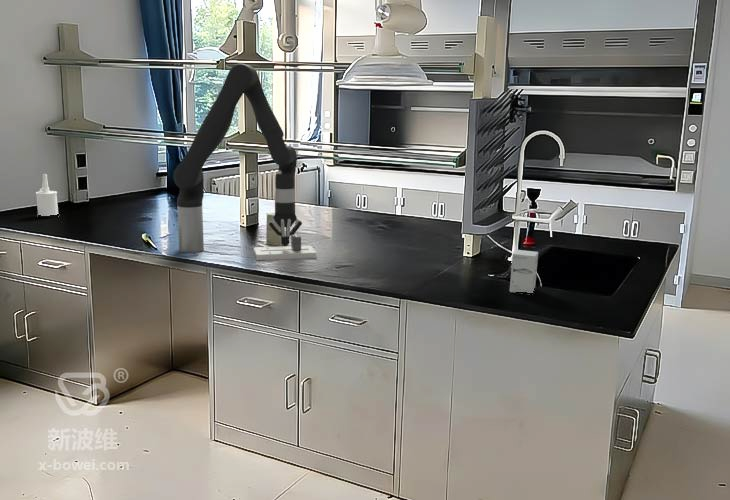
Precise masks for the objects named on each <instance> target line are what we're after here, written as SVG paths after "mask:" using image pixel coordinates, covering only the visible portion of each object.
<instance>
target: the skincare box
mask: <svg viewBox="0 0 730 500" xmlns="http://www.w3.org/2000/svg"><path fill="white" fill-rule="evenodd" d="M274 215H275V212H271V213H267V214H266V231H265V233H266V235H265V236H266V238H265V239H266V241H265V242H266V244H267V245H268V244H269V245H273V246H276V247H279V246H281V245H282V243H281V236H280V235H277V234H276V233H275V231H274V230H273V229H272V228H271V226H270V225H269V224H268V222H269V221H272V220H273V219H274ZM275 227H276V228H277V230H278V231H279V232H281V229H280V227H279V226H278V224H277V223H276V222H275ZM282 246H283V245H282Z"/></svg>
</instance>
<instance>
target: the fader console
mask: <svg viewBox="0 0 730 500" xmlns="http://www.w3.org/2000/svg"><path fill="white" fill-rule="evenodd" d="M253 254H254V257H255V259H256V261H266V260H268V261H269V260H270V261H271V260H292V259H293V260H295V259H316V258H317V251H316V250H315V249H314V248H313V247H312V245H301V250H293V249H292V248H291V245H288V246H260V247H259V246H257V247H253Z"/></svg>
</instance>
